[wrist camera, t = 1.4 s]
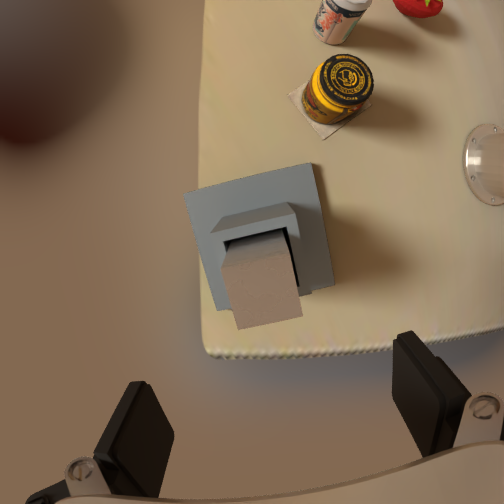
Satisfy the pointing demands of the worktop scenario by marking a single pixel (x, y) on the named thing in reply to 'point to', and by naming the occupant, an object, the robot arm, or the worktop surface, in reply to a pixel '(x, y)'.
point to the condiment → (334, 93)
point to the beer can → (338, 19)
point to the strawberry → (419, 7)
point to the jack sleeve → (263, 224)
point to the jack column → (260, 279)
